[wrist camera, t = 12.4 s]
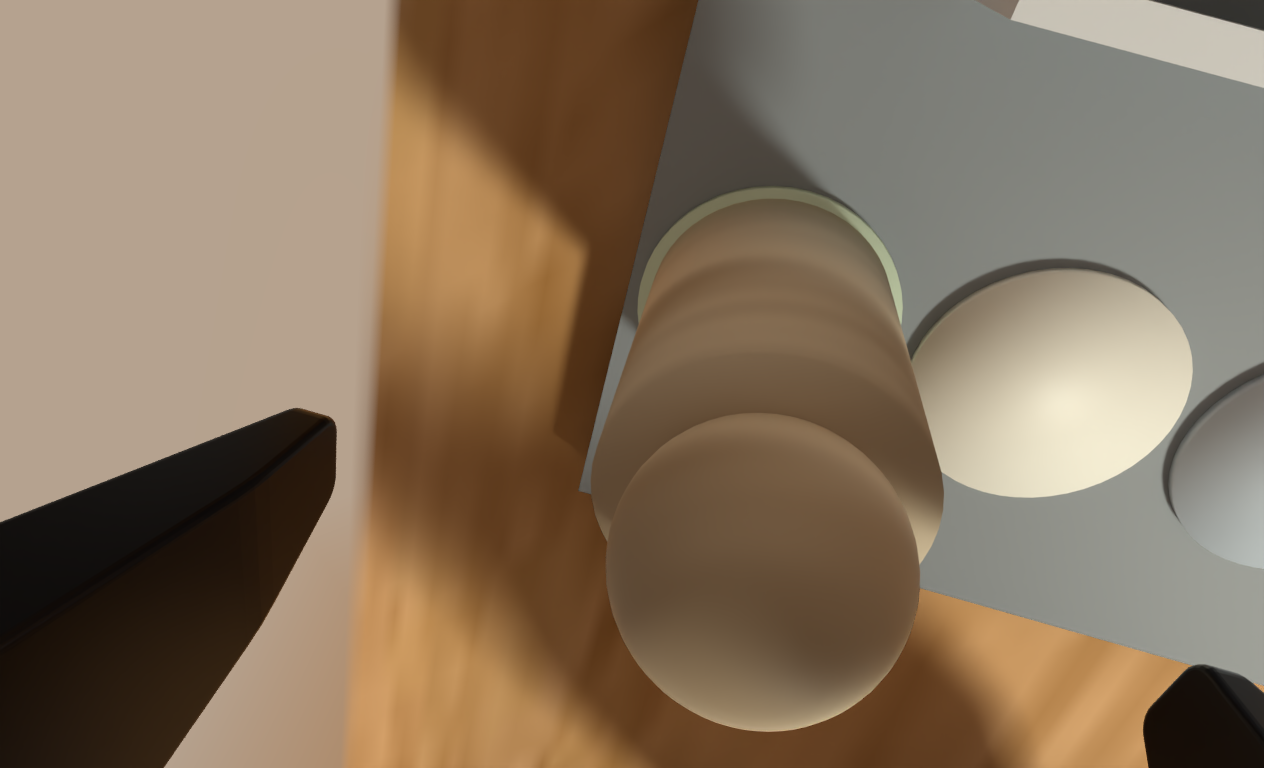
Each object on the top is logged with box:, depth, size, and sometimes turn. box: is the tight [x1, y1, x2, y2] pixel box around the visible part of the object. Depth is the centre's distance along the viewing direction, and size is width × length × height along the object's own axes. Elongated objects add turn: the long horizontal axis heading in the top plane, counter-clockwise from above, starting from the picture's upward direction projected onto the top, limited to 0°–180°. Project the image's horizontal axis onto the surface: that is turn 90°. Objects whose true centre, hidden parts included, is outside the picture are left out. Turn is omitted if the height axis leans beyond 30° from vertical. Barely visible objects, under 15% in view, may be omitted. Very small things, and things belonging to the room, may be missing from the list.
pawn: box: [591, 199, 944, 732], centre depth 10 cm, size 4×4×8 cm
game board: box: [578, 0, 1264, 686], centre depth 11 cm, size 18×14×4 cm
